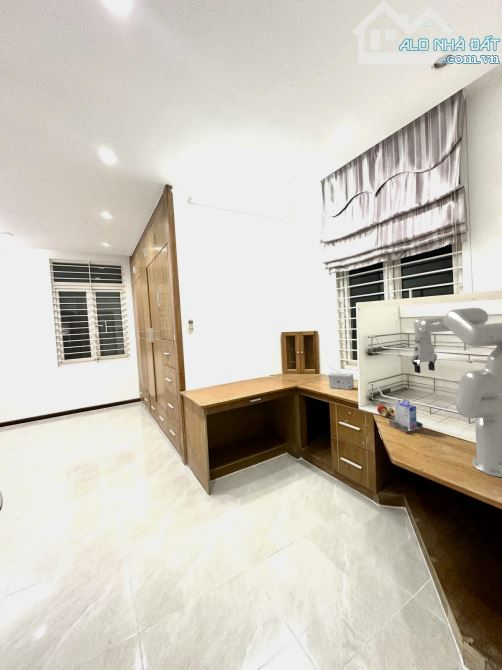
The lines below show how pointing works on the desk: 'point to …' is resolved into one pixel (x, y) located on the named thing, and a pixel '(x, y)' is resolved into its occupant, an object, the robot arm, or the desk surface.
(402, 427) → the jig
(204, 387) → the desk surface
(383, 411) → the kendama
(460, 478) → the desk surface
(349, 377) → the stereo radio cassette player
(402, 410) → the ink cartridge box
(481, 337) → the robot arm
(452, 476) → the desk surface
